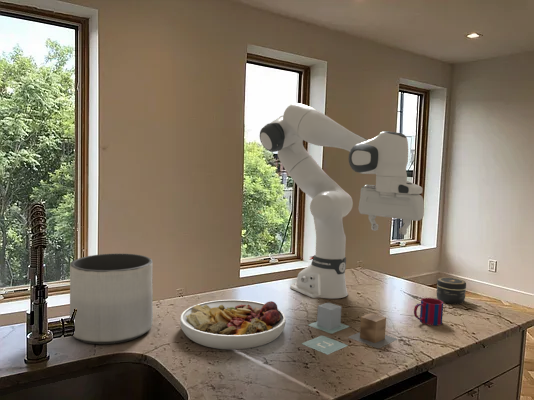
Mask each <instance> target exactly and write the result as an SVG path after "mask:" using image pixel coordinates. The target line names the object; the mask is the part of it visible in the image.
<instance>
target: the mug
mask: <svg viewBox="0 0 534 400" xmlns="http://www.w3.org/2000/svg"><path fill="white" fill-rule="evenodd" d="M419 307H420V310H419V316H418V313H417V312H418V308H419ZM443 312H444V302H443V301H441V300H438V298H433V297H424V298H421V299H420V303H417V304H415V306H414V309H413V315H414V317H415V319H417V320H419V322H420V323H421V324H423V325H429V326H433V327H434V326H435V327H437V326H441V325H443V317H444V315H443V314H444V313H443Z"/></svg>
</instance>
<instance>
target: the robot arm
mask: <svg viewBox="0 0 534 400" xmlns="http://www.w3.org/2000/svg"><path fill="white" fill-rule="evenodd" d="M259 140H260V143H261V145H262V146H263V148H264V149H265V150H266V151H268V152H271V153H275V152H277V158H278V160H279V162H280V164H281V165H282V166H283V168H284V169H285V171H286V172H287V174H288V175H289V176H290V178H291V179H292V180H293V182H294V183H295V184H296V186H297V187H299V190H301V191H302V192H303V193H304V194H306V195H308V196H309V197H310V198H311V201H310V204H309V209H310V213H311V215H312V217H313V221H314V222H313V224H314V231H315V254H314V255H313V256H309V259H308V260H311V263H310V264H309V265H308V266H307V267H305V268H303V269H302V270H301V271H299V272H298V274H297V277H296V282H294V283H292V284H290V288H289V289H291V290H294V291H296V292H298V293H301V294H303V295H305V296H307V297H309V298H311V299H318V298H321V299H341V298H345V297H347V296H348V295H349V293H348V289H347V283H346V268H347V257H346V246H347V244H346V242H347V241H346V240H347V237H346V233H345V229H344V225H343V224H344V223H343V218H345V217H346V216H348V215H349V213H350V212H351V211H352V209H353V206H354V201H353V198H352V196H351V195H350V194H349V193H348V192H347V191H345V190H344V189H343V188H342V187H341V186H340V185H339V184H338V183H337V182H336V181H335V180H334V179H332V178H331V177H330V176H329V175H328V173H326V172H325V170H323V169H322V167H321V166H320V165H319V163H318V162H317V161H316V160H315V159H314V157H313V156H312V155H311V154H310V153H309V152H308V150H307V149H306V148H305V147H304V142H306V143H309V144H311V145H314V146H318V147H329V148H336V149H341V150H345V151H347V152H349V154H348V164H349V166H350V169H352V171H354V172H356V173H359V174H363V175H365V174H366V175H376V176H375V184H365V185H364V186H361V188H360V197H359V201H358V212H359V214H360V215H367V216H368V221H369V223H370V224H371V226H370V229H371V231H379V224H378V223H377V221H376V219H377V217H382V218H392V219H398V220H402V224H403V226H402V227H400V228H398V229H399V230H398V233H399V235H403V236H404V235H407V230H408V228H409V226H410V225H411V224H412V221H415V222H417V221H421V220H422V219H423V218H424V215H425V202H424V198H423V196H422V195H421V194H423V190H424V189H423V187H422V186H420V185H419V184H415V183H413V182H411V181H409V180H408V173H407V166H408V164H409V163H408V162H409V141H408V137H407V136H406V135H405V133H404V134H403V133H401V132H395V131H391V130H389V131H388V130H384V131H381V132H379V134H378V135H376V136H375V137H373V138H371V139H367V138H365V137H363V136H361V135H359V134H357V133H355V132H354V131H351V130H349V129H348V128H346V127H345V126H343V125H342V124H340V123H338V122H337V121H335V120H334V119H332V118H331V117H329V116H328V115H327V114H324V113H323V112H321V111H320V110H317V109H315V108H314V107H312V106H308V105H307V104H303V103H299V102H298V103H297V102H294V103H292V104H290V105H288V106H287V107H286V108H285V110H284V112H283V115H281V116H279V117H277V118H276V119H274V120H272V121H271V122H269V123H266V124H265V125H264V126H263V127H262V128H261V129H260V131H259Z"/></svg>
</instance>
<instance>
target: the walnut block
mask: <svg viewBox="0 0 534 400" xmlns="http://www.w3.org/2000/svg"><path fill="white" fill-rule="evenodd" d="M386 324H387V317H386V316H382V315H378V314H375V313H372V312H370V313H367V314H365V315H362V316H360V324H359V326H360V329H359V332H360V338H362V339H365V340H368V341H371V342H373V343H377V342H379V341H381V340H383V339H385V335H386V328H387V327H386V326H387V325H386Z"/></svg>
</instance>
